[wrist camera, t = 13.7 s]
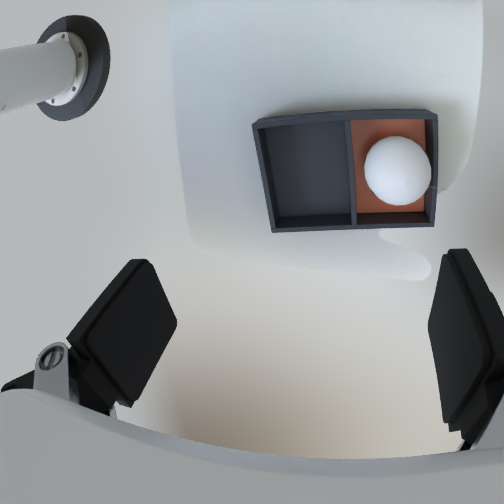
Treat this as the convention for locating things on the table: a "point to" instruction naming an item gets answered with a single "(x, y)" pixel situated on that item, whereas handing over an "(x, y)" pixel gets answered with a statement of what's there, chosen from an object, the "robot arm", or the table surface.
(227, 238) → the table surface
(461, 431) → the robot arm
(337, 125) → the tray
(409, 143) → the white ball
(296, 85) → the table surface
